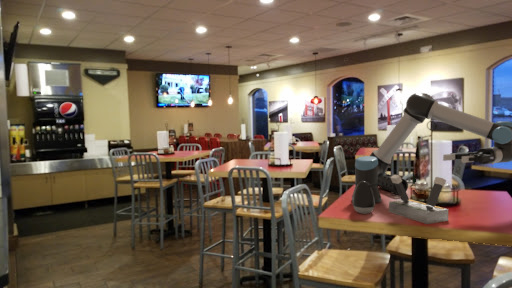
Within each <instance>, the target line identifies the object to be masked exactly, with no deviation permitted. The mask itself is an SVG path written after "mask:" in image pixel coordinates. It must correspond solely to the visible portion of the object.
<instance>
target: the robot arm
mask: <svg viewBox="0 0 512 288" xmlns="http://www.w3.org/2000/svg"><path fill="white" fill-rule="evenodd" d="M405 105H406V107H405V108H404V109H403V110H402V111H403V115H402V117H401V118H400V119H399V121H398V122H397V123H396V124H395V126H394V128H393V129H392V130H391V132H390V133H389V134H388V135H387V137H386V138H385V139H384V140H383V142H382V143H381V145H380V146H379V147H378V148H377V149H376V150H375V149H374V150H373V151H372V152H371V154H370V155H367V156H365V155H363V156H360V157H357V158H356V159H355V162H354V173H355V174H354V177H355V178H354V180H355V182H354V183H355V185H354V189H353V192H352V196H351V201H352V202H353V196H354V192H355V189H356V187H357V185H358V183H359V182H361V181H366V182H368V183H369V184H373V183H375V186H372V187H371V189H372V191H373V194H374V200H375V204H378V203H382V195H381V192H380V190H379V187H378V177H380V176H382V175H383V174H384V173H387V170H388V168H389V167H390V165H391V164H392V161H391V159H392V158H393V157H394V155H395V154H396V153H397V152H398V150H399V149H400V148H401V146H402V145H403V144H404V142H405V141H406V140H407V139H408V137H410V135H411V133H412V132H413V131H414V130H415V128H416V127H417V126H418V125H419V124H423V123H424V121H425V120H431V119H432V120H435V121H438V122H442V123H443V124H448V125H449V126H451V127H455V128H458V129H461V130H462V131H463V130H464V131H466V132H469V133H471V134H475V135H477V136H480V137H483V138H486V139H488V140H491V141H493V146H492V147H491V146H489V147H480V148H479V149H478V150H477V151H473V152H468V151H467V152H456V153H453V152H451V153H449V154H448V153H447V154H443V155H442V156H443V157H442V161H445V162H447V161H451V162H454V161H456V160H461V164H466V163H474V162H475V163H480V164H482V165H489V164H491V165H493V166H494V165H495V164H501V163H510V162H512V121H508V120H507V121H495V122H493V121H490V120H488V119H485V118H482V117H480V116H479V117H478V116H476V115H474V114H471V113H467V112H463V111H461V110H458V109H455V108H453V107H449V106H446V105H443V104H441V103H439V102H438V100H435V99H434V98H433V96H431V95H430V94H428V93H424V92H423V93H422V92H416V93H413V94H412V95H410V96H409V97H407V100H406V104H405Z"/></svg>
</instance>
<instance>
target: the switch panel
mask: <svg viewBox="0 0 512 288" xmlns="http://www.w3.org/2000/svg"><path fill="white" fill-rule="evenodd" d="M408 201H409V203H407V202H403V201H402V200H401V199H399V200H392V201H388V212H389V213H391V214H394V215H398V216H400V217H403V218H406V219H409V220H412V221H416V222H418V223H422V224H425V225H430V224H435V223H437V224H438V223H441V222H448V221H449V208H445V207H440V206H439V205H438V206H436V205H435V207H433V209H429V208H426V206H428V205H426V203H427V202H426V203H425V202H422V201H418V200H414V199H410V198H409V200H408ZM430 207H431V206H430Z"/></svg>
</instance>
